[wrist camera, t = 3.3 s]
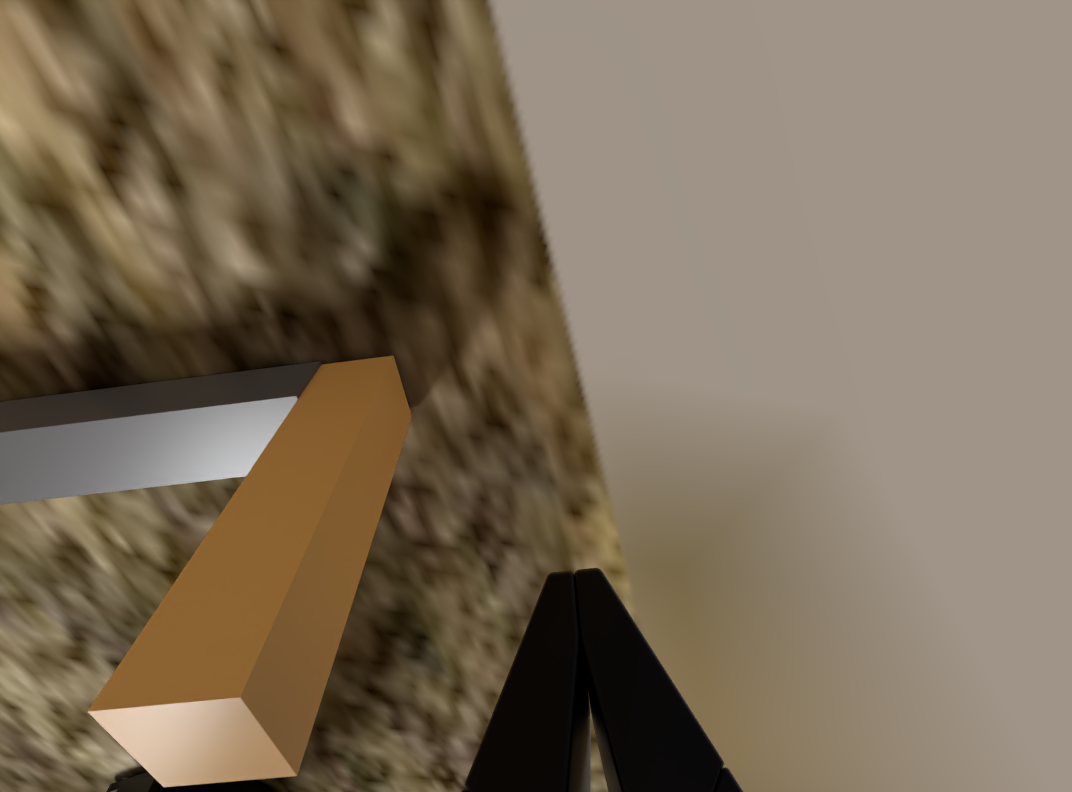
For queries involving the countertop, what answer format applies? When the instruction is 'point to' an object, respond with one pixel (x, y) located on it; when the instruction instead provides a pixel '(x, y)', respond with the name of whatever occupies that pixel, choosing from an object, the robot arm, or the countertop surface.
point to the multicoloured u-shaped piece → (229, 546)
